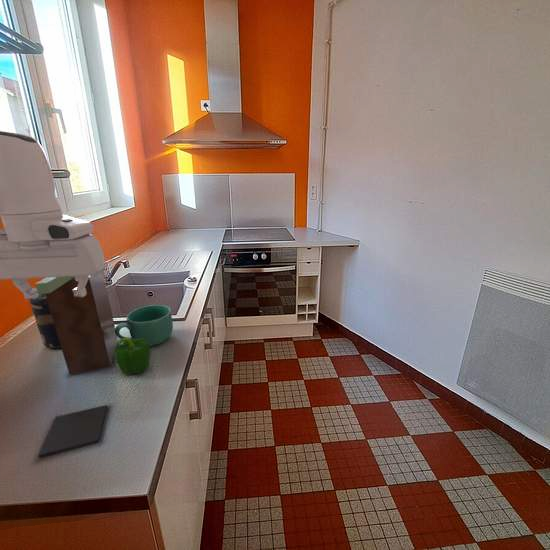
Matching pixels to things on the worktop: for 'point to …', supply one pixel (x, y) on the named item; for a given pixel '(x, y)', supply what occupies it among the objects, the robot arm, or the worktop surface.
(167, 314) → the mug
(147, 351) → the bell pepper
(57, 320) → the stand
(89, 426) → the mat
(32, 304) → the canister
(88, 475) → the worktop surface
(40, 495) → the worktop surface
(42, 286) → the hammer
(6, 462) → the worktop surface
